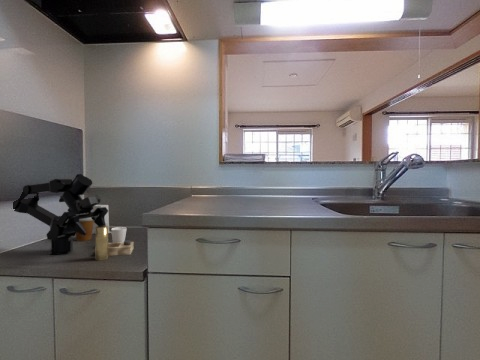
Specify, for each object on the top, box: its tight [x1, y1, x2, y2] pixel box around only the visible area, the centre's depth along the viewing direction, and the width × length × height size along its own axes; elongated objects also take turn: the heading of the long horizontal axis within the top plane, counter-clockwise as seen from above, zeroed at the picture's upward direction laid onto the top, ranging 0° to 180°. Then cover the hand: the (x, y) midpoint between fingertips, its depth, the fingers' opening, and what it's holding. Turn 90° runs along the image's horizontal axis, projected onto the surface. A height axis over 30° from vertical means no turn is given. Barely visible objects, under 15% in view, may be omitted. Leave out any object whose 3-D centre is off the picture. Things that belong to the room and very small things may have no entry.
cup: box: [108, 226, 128, 243], centre depth 119 cm, size 7×10×8 cm
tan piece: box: [94, 226, 109, 261], centre depth 101 cm, size 4×4×12 cm
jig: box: [108, 240, 135, 257], centre depth 110 cm, size 12×9×4 cm
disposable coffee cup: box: [75, 218, 94, 242], centre depth 130 cm, size 10×10×12 cm
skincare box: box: [91, 204, 110, 235], centre depth 145 cm, size 8×7×16 cm
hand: (95, 232), depth 102 cm, fingers open, 9 cm apart
